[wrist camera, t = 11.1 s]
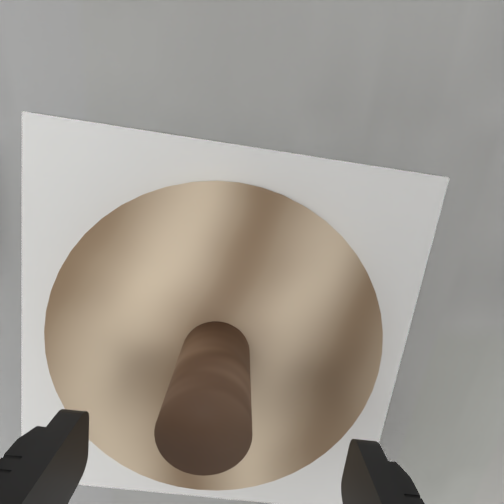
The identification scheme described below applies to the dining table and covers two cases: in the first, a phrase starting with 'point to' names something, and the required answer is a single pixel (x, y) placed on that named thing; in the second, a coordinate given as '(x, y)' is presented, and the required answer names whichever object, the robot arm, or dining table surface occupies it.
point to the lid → (214, 335)
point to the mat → (232, 170)
